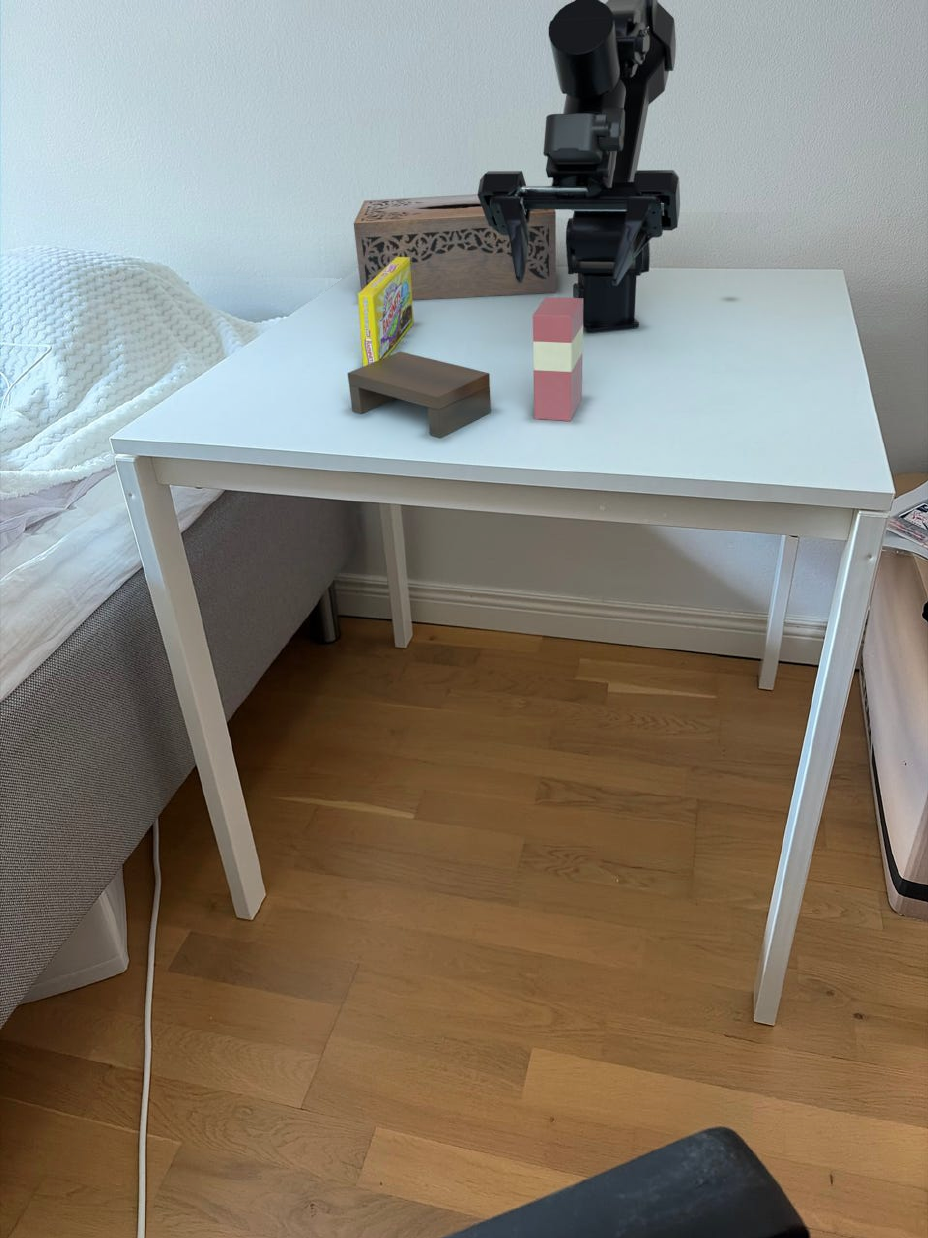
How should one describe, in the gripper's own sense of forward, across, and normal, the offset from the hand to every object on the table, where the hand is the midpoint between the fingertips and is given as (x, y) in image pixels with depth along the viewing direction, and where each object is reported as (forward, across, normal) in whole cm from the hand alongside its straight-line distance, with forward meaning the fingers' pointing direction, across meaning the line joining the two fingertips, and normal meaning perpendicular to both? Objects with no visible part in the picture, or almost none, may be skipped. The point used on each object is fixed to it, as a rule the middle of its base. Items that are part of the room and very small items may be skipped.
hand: (565, 281), depth 90 cm
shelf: (+12, -13, +4) cm, 19 cm away
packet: (+10, 0, +6) cm, 12 cm away
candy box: (0, -23, +17) cm, 29 cm away
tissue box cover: (-19, -23, +36) cm, 47 cm away
